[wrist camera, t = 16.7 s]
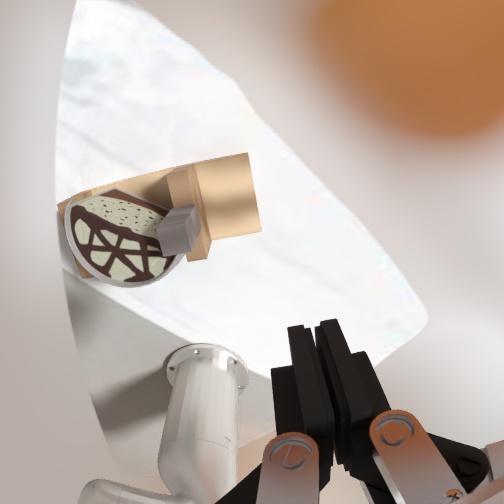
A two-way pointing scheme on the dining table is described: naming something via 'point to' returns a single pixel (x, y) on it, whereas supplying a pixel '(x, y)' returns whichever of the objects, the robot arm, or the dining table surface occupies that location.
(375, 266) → the dining table surface
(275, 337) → the dining table surface
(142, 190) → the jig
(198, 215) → the block
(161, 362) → the dining table surface
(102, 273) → the food container
